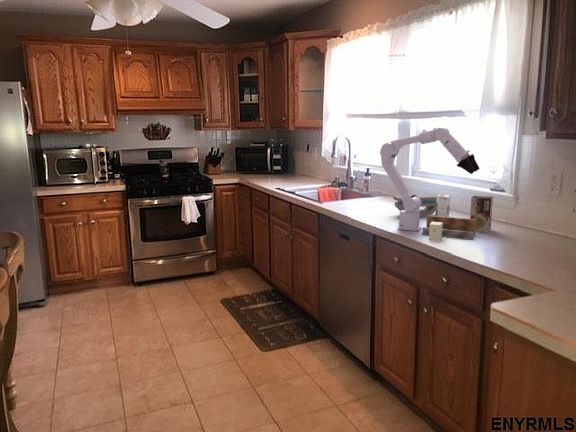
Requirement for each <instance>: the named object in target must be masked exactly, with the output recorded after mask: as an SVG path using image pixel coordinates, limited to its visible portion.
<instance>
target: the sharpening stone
mask: <svg viewBox="0 0 576 432" xmlns="http://www.w3.org/2000/svg"><path fill="white" fill-rule="evenodd" d="M415 195H416V194H415ZM438 195H439V194H420V195H419V194H417V195H416V196H418V197H419V198H420V199H421V201H422V204H421V206H420V207H424V208H423V209H420V207H419V209H420V218H427V216H428V215H429V216H433V214H434V213H436V199H437V196H438ZM392 199H393V200H394V201H395V202H394V207H395V208H397V209H398V211H399V212H400V211H401V210H405V209H404V206H403V202H402V200H401V195H393V196H392Z"/></svg>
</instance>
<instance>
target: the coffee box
mask: <svg viewBox="0 0 576 432" xmlns="http://www.w3.org/2000/svg"><path fill="white" fill-rule="evenodd" d="M493 202H494V196H487V195H485V196H484V195H473V196H472V197H471V198H470V213H469V214H470V216H469V217H470V218H469V219H476V232H484V233H490V232H491V230H492V218H493V216H492V215H493V205H494V203H493Z"/></svg>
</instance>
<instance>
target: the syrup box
mask: <svg viewBox="0 0 576 432" xmlns="http://www.w3.org/2000/svg"><path fill="white" fill-rule="evenodd" d="M437 195H438V196H437V199H436V211H435V212H434V213H435V215H434V216H441V217H450V207H451V197H452V196H451V195H449V194H437Z"/></svg>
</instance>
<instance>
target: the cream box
mask: <svg viewBox="0 0 576 432" xmlns="http://www.w3.org/2000/svg"><path fill="white" fill-rule="evenodd" d="M442 227H443V223H442V222H431V223H430V225H429V235H428V240H429V239H430V240H431V241H438V240H439V241H440V240H441V239H442V238H443V237H442Z"/></svg>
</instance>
